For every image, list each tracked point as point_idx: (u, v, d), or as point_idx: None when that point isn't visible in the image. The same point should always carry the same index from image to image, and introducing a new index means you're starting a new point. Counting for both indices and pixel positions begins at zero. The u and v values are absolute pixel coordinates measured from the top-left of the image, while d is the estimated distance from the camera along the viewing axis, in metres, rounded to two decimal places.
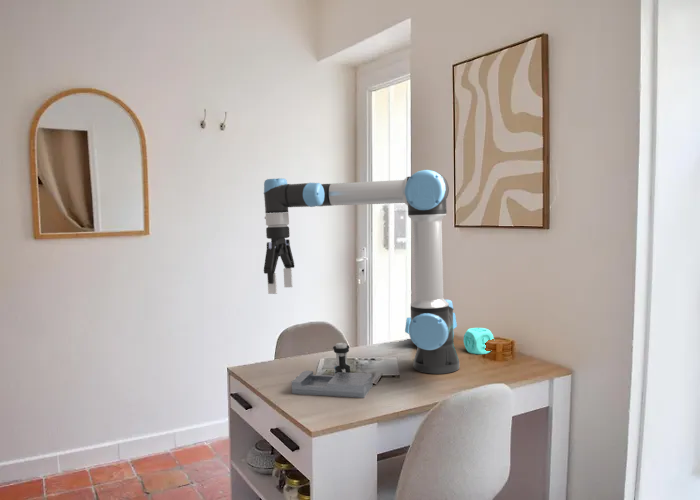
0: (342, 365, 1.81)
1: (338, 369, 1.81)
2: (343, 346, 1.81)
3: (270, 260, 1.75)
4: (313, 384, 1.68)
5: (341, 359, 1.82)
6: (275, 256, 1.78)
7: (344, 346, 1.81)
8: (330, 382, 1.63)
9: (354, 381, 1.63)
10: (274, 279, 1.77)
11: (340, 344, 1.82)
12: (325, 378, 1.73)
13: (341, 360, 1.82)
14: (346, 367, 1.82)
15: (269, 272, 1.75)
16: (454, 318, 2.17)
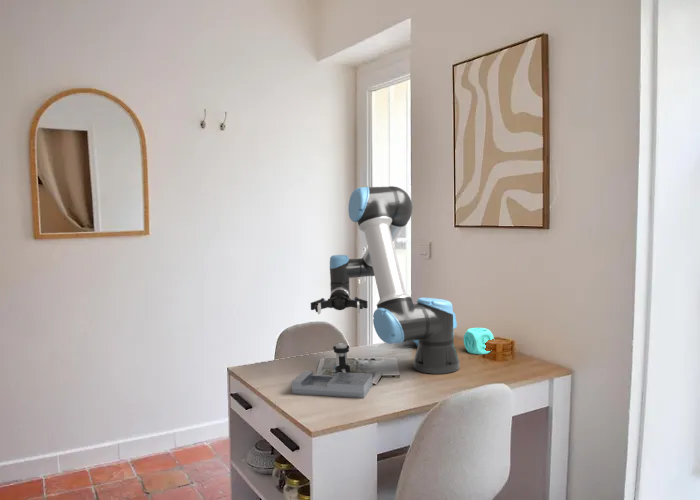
0: (342, 365, 1.81)
1: (338, 369, 1.81)
2: (343, 346, 1.81)
3: None
4: (313, 384, 1.68)
5: (341, 359, 1.82)
6: None
7: (344, 346, 1.81)
8: (330, 382, 1.63)
9: (354, 381, 1.63)
10: (318, 304, 1.95)
11: (340, 344, 1.82)
12: (325, 378, 1.73)
13: (341, 360, 1.82)
14: (346, 367, 1.82)
15: (312, 305, 1.98)
16: (454, 318, 2.17)
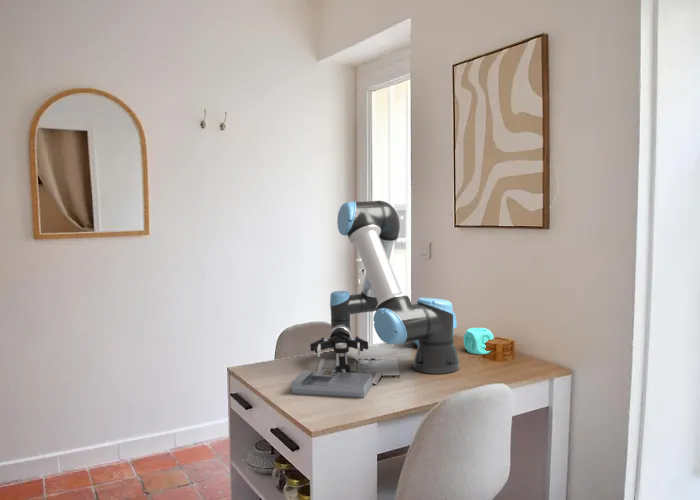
0: (342, 365, 1.81)
1: (338, 369, 1.81)
2: (343, 346, 1.81)
3: None
4: (313, 384, 1.68)
5: (341, 359, 1.82)
6: None
7: (344, 346, 1.81)
8: (330, 382, 1.63)
9: (354, 381, 1.63)
10: (318, 346, 1.92)
11: (340, 344, 1.82)
12: (325, 378, 1.73)
13: (341, 360, 1.82)
14: (346, 367, 1.82)
15: (312, 346, 1.95)
16: (454, 318, 2.17)
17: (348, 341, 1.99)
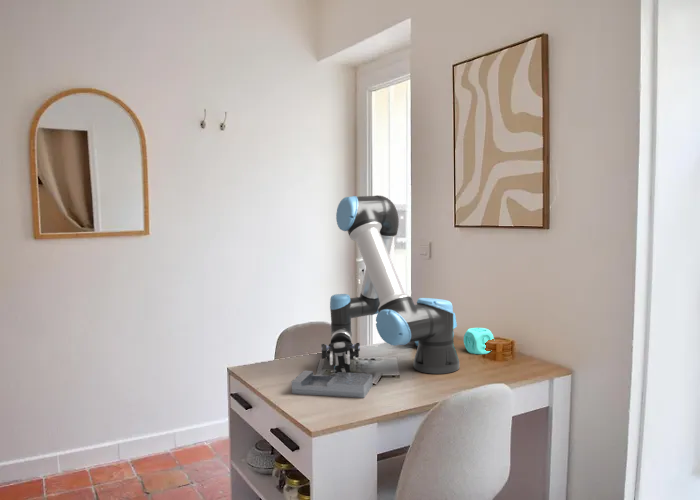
0: (341, 364, 1.81)
1: (338, 369, 1.81)
2: (341, 345, 1.80)
3: (322, 350, 1.88)
4: (313, 384, 1.68)
5: (340, 358, 1.81)
6: None
7: (342, 345, 1.81)
8: (330, 382, 1.63)
9: (354, 381, 1.63)
10: (330, 353, 1.81)
11: (338, 344, 1.81)
12: (325, 378, 1.73)
13: (340, 359, 1.81)
14: (345, 366, 1.82)
15: (324, 354, 1.84)
16: (454, 318, 2.17)
17: None
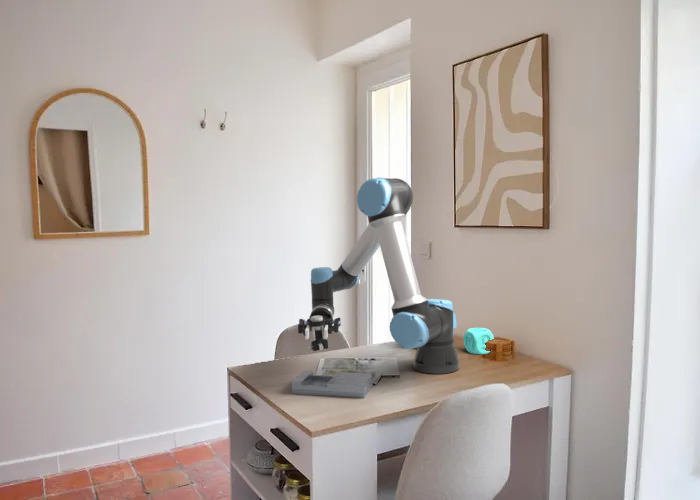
0: (319, 339, 1.67)
1: (314, 344, 1.66)
2: (318, 319, 1.66)
3: None
4: (313, 384, 1.68)
5: (317, 333, 1.67)
6: None
7: (319, 319, 1.66)
8: (330, 382, 1.63)
9: (354, 381, 1.63)
10: None
11: (315, 317, 1.67)
12: (325, 378, 1.73)
13: (317, 334, 1.67)
14: (323, 341, 1.68)
15: (300, 328, 1.69)
16: (454, 318, 2.17)
17: None
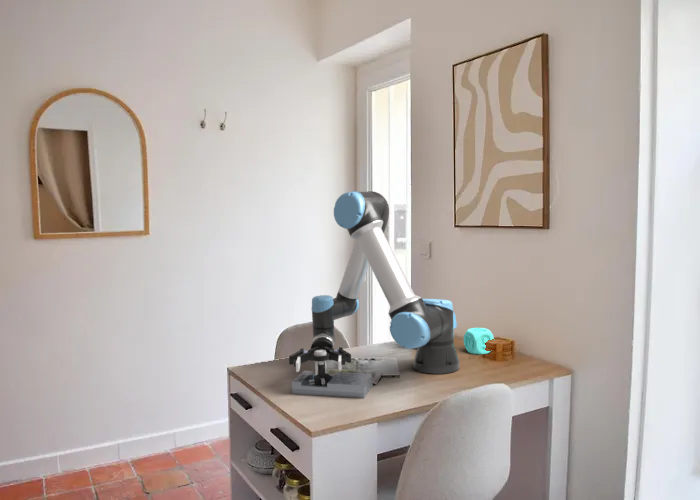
0: (321, 374, 1.67)
1: (317, 378, 1.67)
2: (322, 353, 1.67)
3: None
4: (313, 384, 1.68)
5: (320, 367, 1.68)
6: None
7: (323, 353, 1.67)
8: (330, 382, 1.63)
9: (354, 381, 1.63)
10: (297, 359, 1.69)
11: (319, 351, 1.68)
12: None
13: (320, 369, 1.68)
14: (326, 376, 1.68)
15: (291, 359, 1.72)
16: (454, 318, 2.17)
17: (330, 353, 1.76)
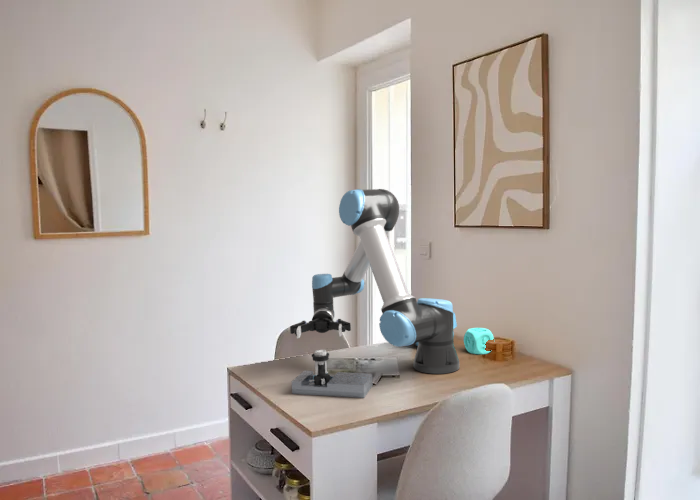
0: (321, 374, 1.67)
1: (317, 378, 1.67)
2: (322, 354, 1.67)
3: None
4: (313, 384, 1.68)
5: (320, 368, 1.68)
6: None
7: (323, 354, 1.67)
8: (330, 382, 1.63)
9: (354, 381, 1.63)
10: (297, 328, 1.83)
11: (319, 351, 1.68)
12: None
13: (320, 369, 1.68)
14: (326, 376, 1.68)
15: (292, 329, 1.86)
16: (454, 318, 2.17)
17: (330, 323, 1.90)
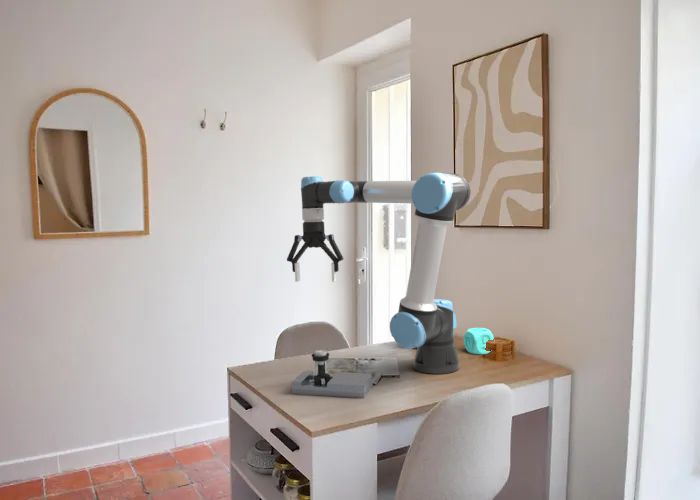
0: (321, 374, 1.67)
1: (317, 378, 1.67)
2: (322, 354, 1.67)
3: None
4: (313, 384, 1.68)
5: (320, 368, 1.68)
6: None
7: (323, 354, 1.67)
8: (330, 382, 1.63)
9: (354, 381, 1.63)
10: None
11: (319, 351, 1.68)
12: None
13: (320, 369, 1.68)
14: (326, 376, 1.68)
15: None
16: (454, 318, 2.17)
17: None
